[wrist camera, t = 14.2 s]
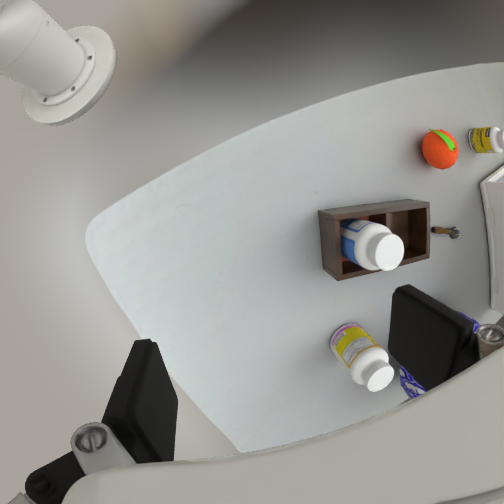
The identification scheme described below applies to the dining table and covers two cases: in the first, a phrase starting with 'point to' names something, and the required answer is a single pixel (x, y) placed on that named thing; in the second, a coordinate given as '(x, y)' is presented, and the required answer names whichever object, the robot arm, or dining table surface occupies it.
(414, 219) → the caddy
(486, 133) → the supplement bottle
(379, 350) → the supplement bottle
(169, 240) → the dining table surface
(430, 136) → the clementine
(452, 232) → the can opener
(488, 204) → the laptop
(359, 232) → the pill bottle
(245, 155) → the dining table surface
